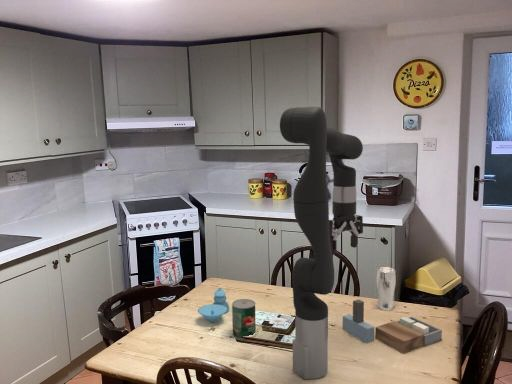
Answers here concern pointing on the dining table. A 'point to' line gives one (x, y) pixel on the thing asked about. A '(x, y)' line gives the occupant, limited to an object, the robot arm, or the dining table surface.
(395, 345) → the brown wooden block
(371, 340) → the scraper
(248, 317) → the canned tomato
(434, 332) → the box
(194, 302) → the dining table surface
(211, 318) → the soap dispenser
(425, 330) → the tile
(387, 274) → the beer glass
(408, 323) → the tile
